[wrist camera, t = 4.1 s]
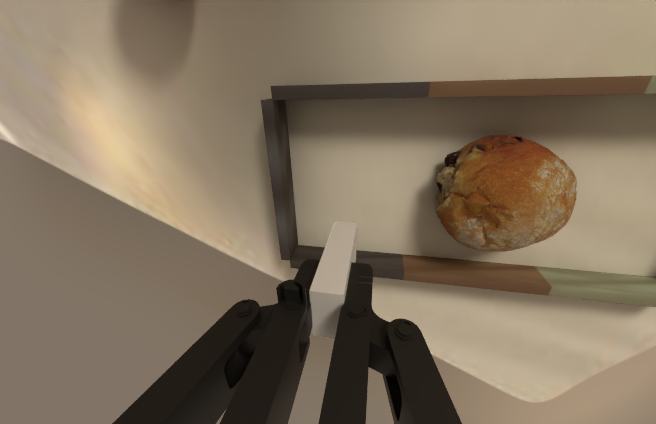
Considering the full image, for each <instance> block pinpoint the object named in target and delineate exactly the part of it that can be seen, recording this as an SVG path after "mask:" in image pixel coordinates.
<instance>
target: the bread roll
mask: <svg viewBox="0 0 656 424" xmlns="http://www.w3.org/2000/svg"><path fill="white" fill-rule="evenodd" d="M445 165H446V167H445V168H443V169H442V171H440V172H439V173H438V175H437V178H436V181H437V186H438V189H439V190H438V194H437V196H436V202H435V203H436V210H437V211H436V213H437V215H438V217H439V219H440V220H441V223H442V225H443V226H444V228H445V229H446V230H447V232H448V233H449V234H450V235H451V236H452V237H453V238H454V239H455V240H456V241H458V242H459V243H461V244H463V245H465V246H467V247H469V248H472V249H477V250H482V251H510V250H515V249H519V248H523V247H526V246H529V245H531V244H533V243H537V242H540V241H543V240H545V239H547V238H549V237H551V236H553V235H554V234H555V233H557V232H558V231H559V230H560V229H561V228H563V227H564V226H565V225H566V223H567V222H568V220H569V218H570V216H571V214H572V211H573V208H574V205H575V201H576V185H577V181H576V177H575V175H574V173H573V171H572V170H571V169H570V168H569V167H568V166H567V164H566V163H565V162H564V161H563V160H561V159H559V157H558V156H556V155H555V154H554V153H553V152H552V151H550V150H549V149H547V148H545V147H543V146H541V145H539V144H537V143H536V142H534V141H531V140H528V139H525V138H523V137H520V136H516V135H507V136H506V135H492V136H488V137H485V138H482V139H479V140H477V141H475V142H472V143H469V144H468V145H466V146H465V147H463V148H462V149H461V150H459V151H457V152H454V153H451V154H449V155H447V157H446V158H445ZM456 193H457V194H456Z"/></svg>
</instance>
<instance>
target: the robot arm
mask: <svg viewBox="0 0 656 424" xmlns="http://www.w3.org/2000/svg"><path fill="white" fill-rule="evenodd" d="M356 244H357V223H354V222H339V221H334V224H333V226H332V229H331V232H330V235H329V238H328V240H327V243H326V246H325V249H324V251H323V254H322V257H321V260H316V259H306V260H305V261H304V262H303V263H302V264H301V266H300V268H299V271H298V272H297V274H296V277H295V279H294V280H287V281H284V282H282V283H281V284H279V285H278V287H277V288H276V289H277V295H278V303H277V304H274V305H269V306H263V307H260V306H259V304H258V303H257V302H256V301H254V300H250V299H248V300H242V301H240V302H238V303H236V304H235V305H233V306H232V308H230V309H229V310H228V311H227V312H226V313H225V314H224V315H223V316H222V317H221V318H220V319H219V320H218V321H217V322H216V323H215V324H214V325H213V326H212V327H211V328H210V329H209V330H208V331H207V332H206V333H205V334H204V335H203V336H202V337H201V338H200V339H199V340H198V341H196V343H194V344H193V345H192V346H191V347H190V348H189V349H188V350H187V351H186V352H185V353H184V354H183V355H182V356H181V357H180V358H179V359H178V360H177V361H176V362H175V363H174V364H173V365H172V366H171V367H170V368H169V369H168V370H167V371H166V372H165V373H164V374H163V375H162V376H161V377H160V378H159V379H158V380H157V381H156V382H155V383H154V384H153V385H151V387H149V388H148V390H146V392H144V394H142V395H141V396H140V397H139V398H138V399H137V400H136V401H135V402H134V403H133V404H132V405H131V406H130V407H129V408H128V409H127V410H126V411H125V412H124V413H123V414H122V415H121V416H120V417H119V418H118V419H117V420H116V421H115V422H114V423H113V424H216V422H217V421H218V419H219V418H220V417H221V415H222V414H223V413H224V411H225V410H226V412H225V413H224V416H223V418H222V420H221V422H220V424H288V420H289V417H290V413H291V410H292V406H293V403H294V399H295V396H296V392H297V388H298V385H299V381H300V378H301V374H302V371H303V367H304V363H305V360H306V356H307V353H308V349H309V345H310V339H309V336H310V333H311V329H312V334H313V335H317V336H323V337H330V338H335V341H334V346H333V351H332V357H331V362H330V367H329V373H328V378H327V383H326V388H325V394H324V398H323V404H322V409H321V414H320V419H319V424H365V423H366V404H367V384H368V367H370V368H372V369H374V370H376V371H378V372H380V373H382V374H383V378H384V383H385V387H386V391H387V395H388V399H389V403H390V407H391V412H392V416H393V420H394V424H462V423H461V421H460V418H459V416H458V414H457V412H456V409H455V407H454V405H453V403H452V400H451V398H450V396H449V394H448V391H447V389H446V387H445V385H444V382H443V380H442V378H441V376H440V373H439V371H438V369H437V367H436V365H435V362H434V360H433V358H432V355H431V353H430V351H429V348H428V346H427V344H426V342H425V339H424V337H423V335H422V333H421V331H420V329H419V328H418V326H417V325H415V324H414V323H413V322H411V321H409V320H406V319H395V320H393V321H391V322H388V321H385V320H383V319H381V318H379V317H378V316H377V315H376V314H375V313H374V312H373V309H372V305H371V302H372V282H373V269H372V268H371V266H370V264H364V263H355V261H356ZM226 408H227V409H226Z"/></svg>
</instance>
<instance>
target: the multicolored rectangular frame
mask: <svg viewBox="0 0 656 424" xmlns="http://www.w3.org/2000/svg"><path fill="white" fill-rule="evenodd" d="M271 92H272V99H266V100H261V105H262V113H263V120H264V128H265V136H266V144H267V152H268V159H269V167H270V175H271V183H272V191H273V198H274V206H275V214H276V222H277V229H278V237H279V245H280V253H281V260H290V264H291V268H297V269H299V268H300V266H301V264H302V263H303V262H304V261H305V260H306V259H316V260H321V257H322V254H323V251H324V249H325V248H324V247H313V246H301V245H298V238H297V227H296V216H295V205H294V193H293V182H292V171H291V160H290V149H289V138H288V127H287V116H286V104H285V100H303V99H362V98H420V97H479V96H538V95H596V94H655V93H656V76H627V77H591V78H554V79H518V80H481V81H445V82H408V83H372V84H336V85H299V86H271ZM355 263H364V264H370V266H371V268H372V269H373V277H381V278H390V279H400V280H409V281H418V282H428V283H437V284H446V285H456V286H465V287H474V288H483V289H493V290H502V291H511V292H521V293H530V294H539V295H549V296H558V297H567V298H576V299H586V300H595V301H604V302H614V303H623V304H632V305H642V306H651V307H656V277H645V276H634V275H623V274H612V273H601V272H589V271H578V270H567V269H556V268H545V267H534V266H523V265H512V264H501V263H490V262H479V261H468V260H457V259H445V258H434V257H423V256H412V255H401V254H390V253H379V252H368V251H357V250H356V261H355Z"/></svg>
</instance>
